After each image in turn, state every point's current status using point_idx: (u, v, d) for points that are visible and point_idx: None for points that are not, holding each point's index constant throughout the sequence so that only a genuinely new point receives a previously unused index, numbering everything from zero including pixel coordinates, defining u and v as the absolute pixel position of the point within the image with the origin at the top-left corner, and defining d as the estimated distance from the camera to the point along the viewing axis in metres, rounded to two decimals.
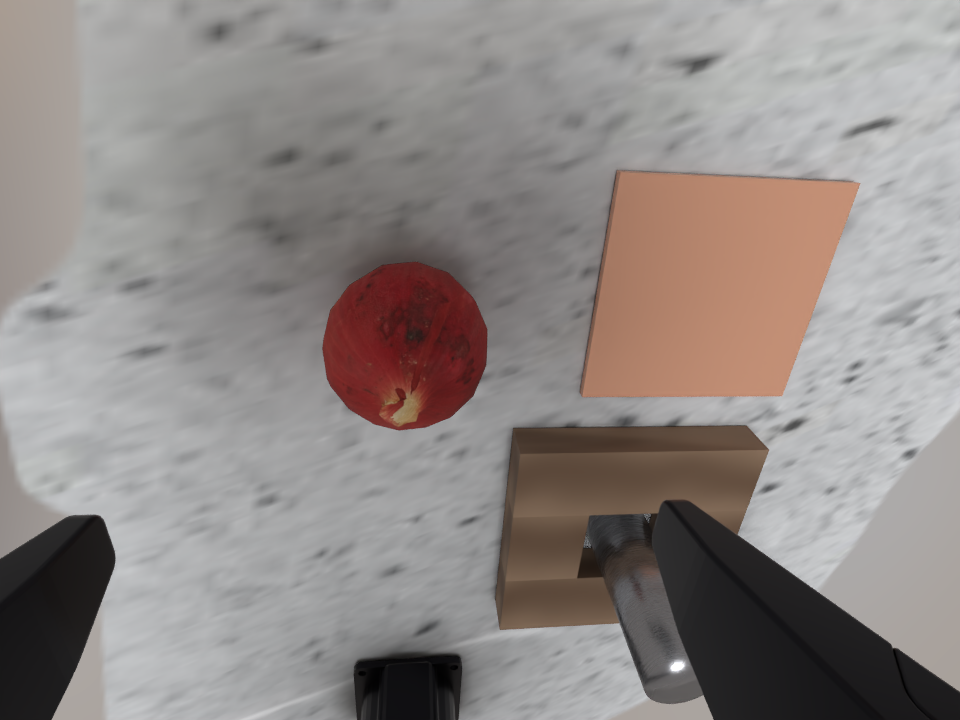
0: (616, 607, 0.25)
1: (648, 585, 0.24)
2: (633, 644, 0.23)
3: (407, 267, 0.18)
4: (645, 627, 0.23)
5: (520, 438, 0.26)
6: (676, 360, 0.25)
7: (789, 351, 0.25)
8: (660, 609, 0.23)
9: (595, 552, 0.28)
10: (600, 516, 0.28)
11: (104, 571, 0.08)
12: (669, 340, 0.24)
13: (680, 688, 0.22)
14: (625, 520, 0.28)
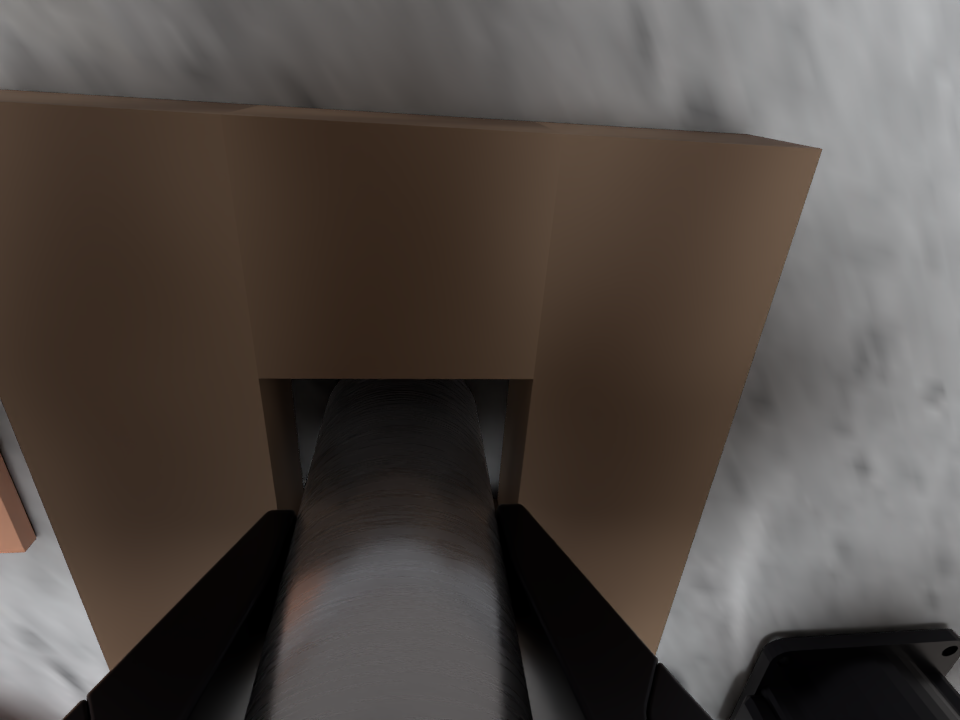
0: None
1: None
2: None
3: None
4: None
5: None
6: None
7: None
8: None
9: None
10: None
11: None
12: None
13: None
14: None
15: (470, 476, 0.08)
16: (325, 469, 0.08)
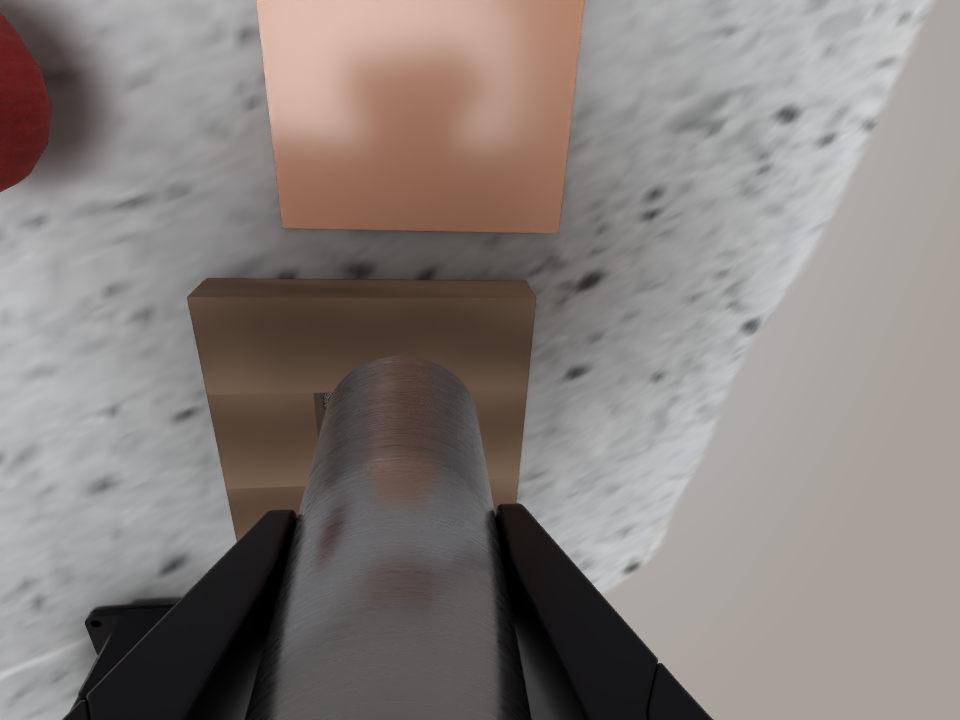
0: None
1: None
2: None
3: None
4: None
5: (205, 285, 0.20)
6: (399, 175, 0.19)
7: (553, 164, 0.19)
8: None
9: None
10: None
11: None
12: (382, 143, 0.18)
13: None
14: None
15: (469, 479, 0.08)
16: (326, 471, 0.08)
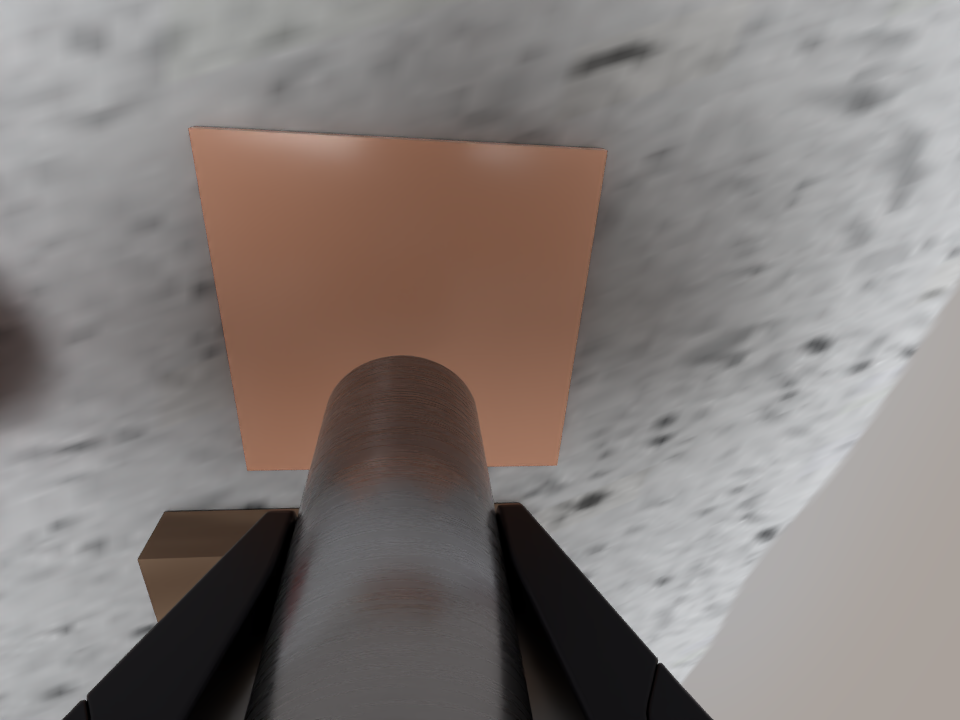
0: None
1: None
2: None
3: None
4: None
5: (161, 530, 0.18)
6: None
7: (552, 404, 0.17)
8: None
9: None
10: None
11: None
12: None
13: None
14: None
15: (470, 478, 0.08)
16: (325, 470, 0.08)
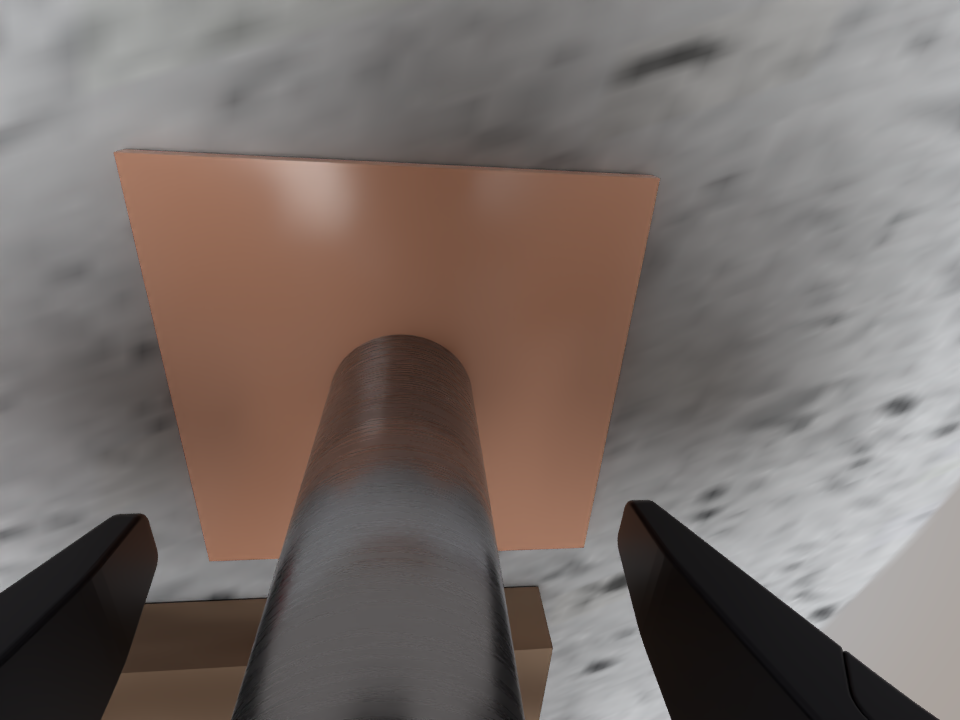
0: None
1: None
2: None
3: None
4: None
5: None
6: None
7: (580, 480, 0.14)
8: None
9: None
10: None
11: (148, 569, 0.08)
12: None
13: None
14: None
15: (460, 438, 0.09)
16: (330, 430, 0.09)
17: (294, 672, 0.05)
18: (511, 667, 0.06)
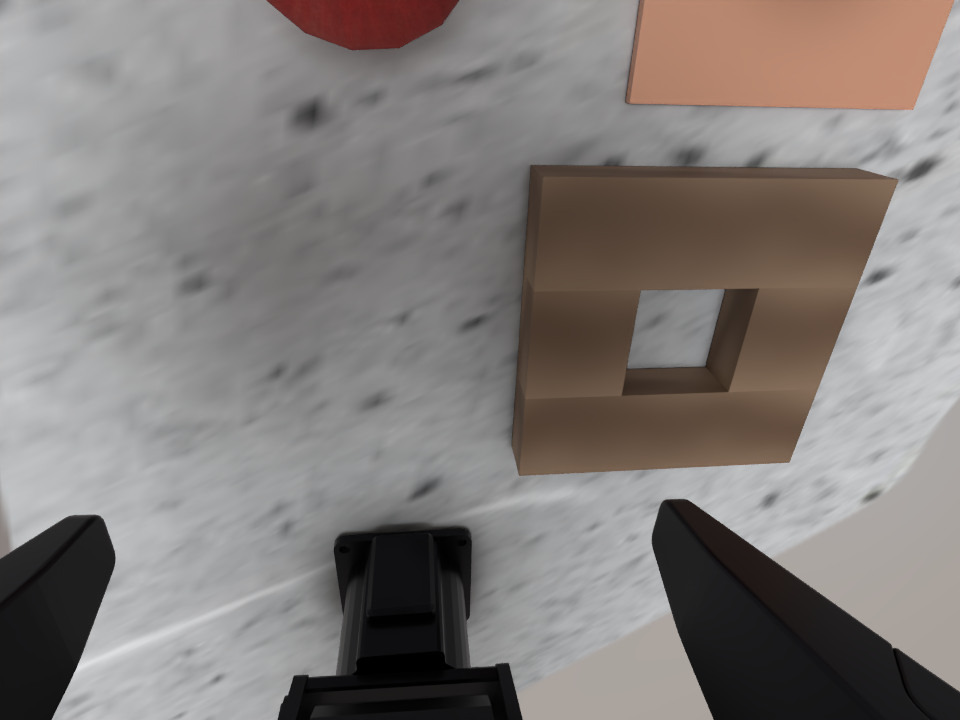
0: None
1: None
2: None
3: None
4: None
5: (542, 170, 0.18)
6: (766, 38, 0.17)
7: (931, 25, 0.17)
8: None
9: None
10: None
11: (104, 571, 0.08)
12: None
13: None
14: None
15: None
16: None
17: None
18: None
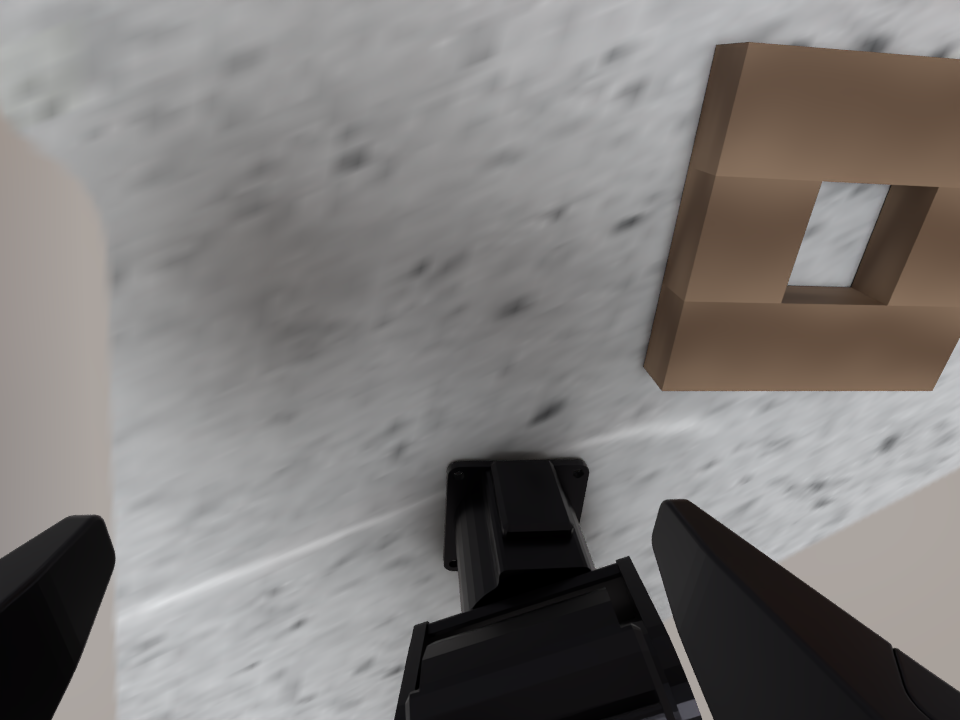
0: None
1: None
2: None
3: None
4: None
5: None
6: None
7: None
8: None
9: None
10: None
11: (104, 571, 0.08)
12: None
13: None
14: None
15: None
16: None
17: None
18: None
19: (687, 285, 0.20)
